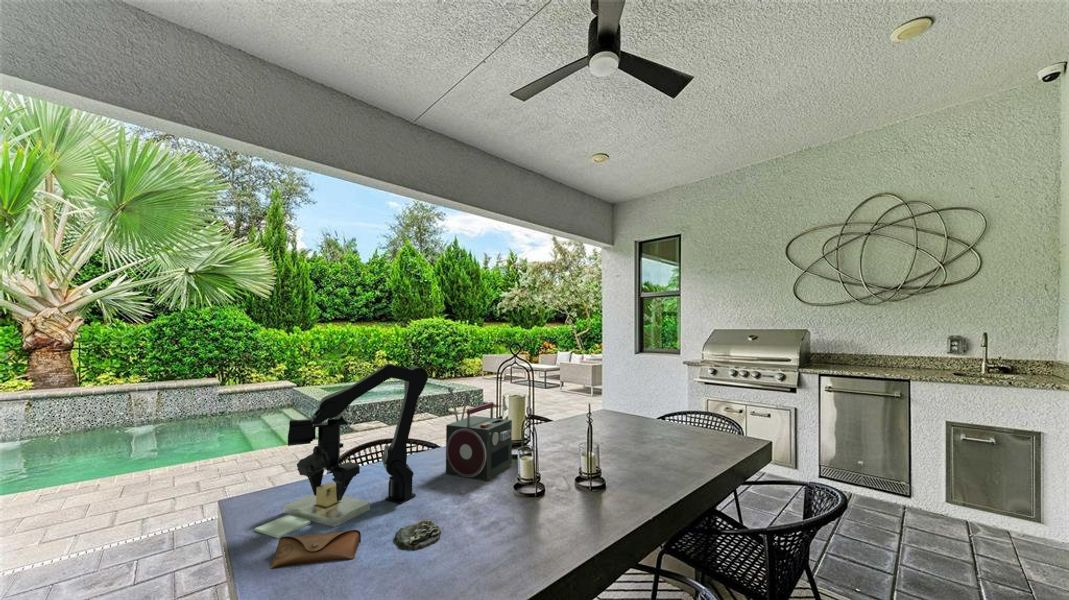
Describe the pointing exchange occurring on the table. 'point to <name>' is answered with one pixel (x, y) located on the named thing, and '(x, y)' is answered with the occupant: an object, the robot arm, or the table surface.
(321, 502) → the brass peg
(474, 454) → the boombox
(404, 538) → the mossy grey rock
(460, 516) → the table surface
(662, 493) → the table surface
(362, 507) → the aluminium plate
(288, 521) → the sage mat
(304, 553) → the sunglasses case
